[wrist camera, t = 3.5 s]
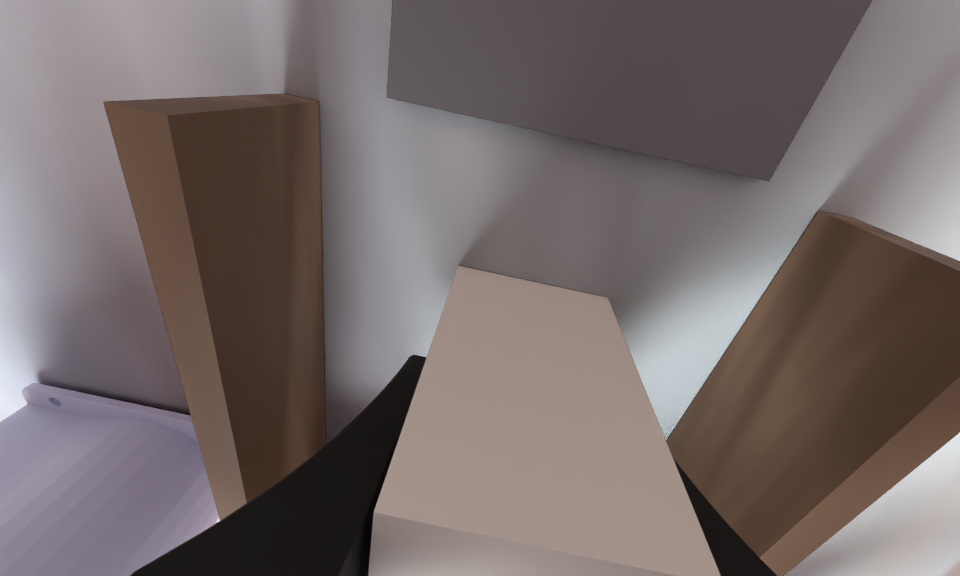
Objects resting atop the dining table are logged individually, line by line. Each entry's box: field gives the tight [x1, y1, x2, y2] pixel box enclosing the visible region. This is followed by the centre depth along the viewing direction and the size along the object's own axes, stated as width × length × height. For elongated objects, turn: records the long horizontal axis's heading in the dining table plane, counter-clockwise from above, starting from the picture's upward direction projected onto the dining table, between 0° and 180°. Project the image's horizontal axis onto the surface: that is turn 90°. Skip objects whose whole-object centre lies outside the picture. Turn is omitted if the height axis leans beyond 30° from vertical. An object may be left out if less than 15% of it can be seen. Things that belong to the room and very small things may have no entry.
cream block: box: [368, 266, 721, 576], centre depth 10 cm, size 5×5×8 cm
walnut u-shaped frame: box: [104, 94, 960, 576], centre depth 12 cm, size 16×16×5 cm
